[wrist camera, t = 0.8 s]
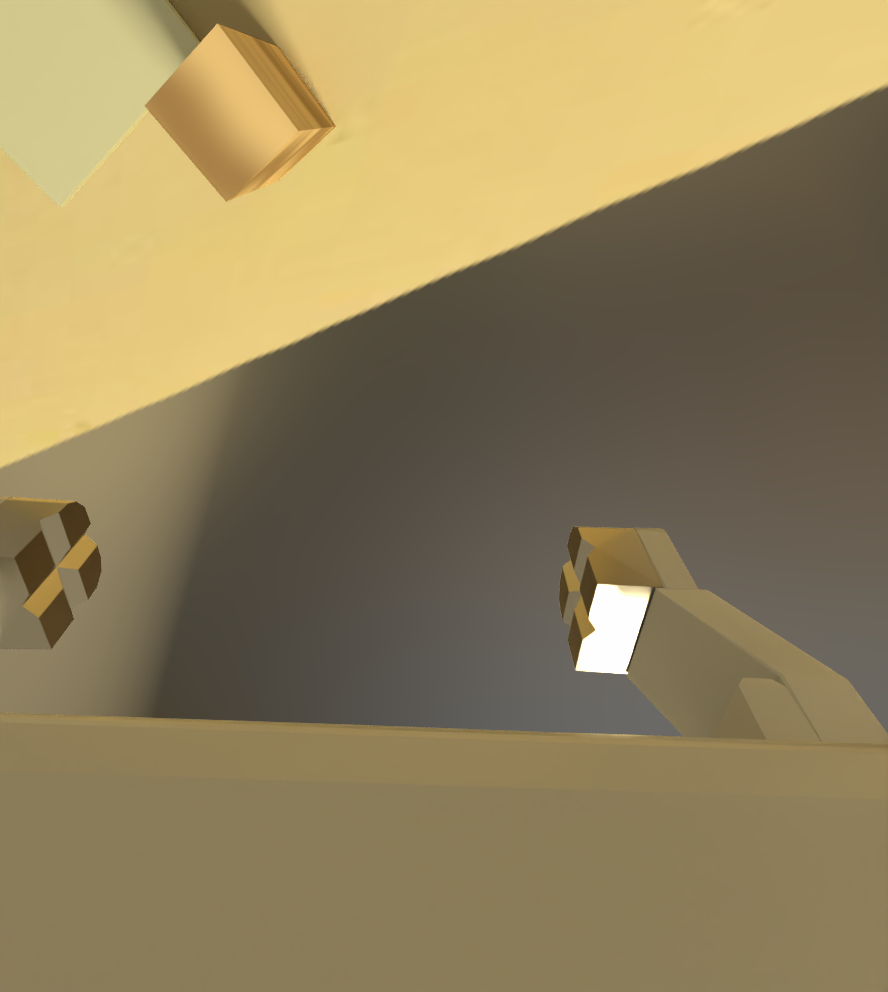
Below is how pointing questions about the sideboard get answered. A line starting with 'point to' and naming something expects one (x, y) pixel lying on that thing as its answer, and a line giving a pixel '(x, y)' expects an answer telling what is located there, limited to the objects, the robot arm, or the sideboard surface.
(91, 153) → the sage mat
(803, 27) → the sideboard surface
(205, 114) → the maple block
